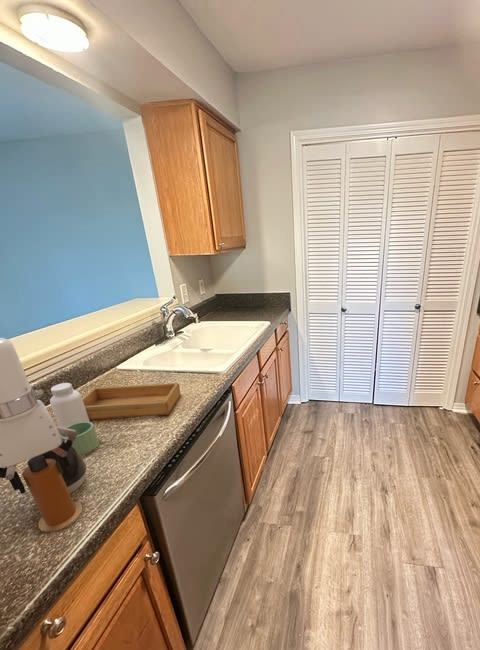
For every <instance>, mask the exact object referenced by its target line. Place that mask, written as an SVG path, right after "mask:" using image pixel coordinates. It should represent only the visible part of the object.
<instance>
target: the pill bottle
mask: <svg viewBox="0 0 480 650" xmlns="http://www.w3.org/2000/svg"><path fill="white" fill-rule="evenodd" d="M50 392H51V394H52V396H51V397H50V399H49V403H50V406H51V409H52V411H53V414H54V416H55V419H56V423H57V424H58V426H59V427H64V428H66V427H67V426H69V425H72V424H75V423H79V422H87V421H88V422H91V420H89V418H88V415H87V412H86V409H85V406H84V403H83V400H82V398H83V397H82V394H81V393H80V392H79V391H78V390H75V389H74V388H73V385H72V383H70V382H62V383H58V384H56V385H53V386H51V388H50Z"/></svg>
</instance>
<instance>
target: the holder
mask: <svg viewBox="0 0 480 650" xmlns="http://www.w3.org/2000/svg"><path fill="white" fill-rule="evenodd" d="M95 427H96V426H95V425H94V423H93V422H92V421H90V422H88V421H87V422H79V423H75V424H72V425H69V426H67V427H66V428H69V429H73V430H76V431H77V433H78V434H77V436H76V438H75V440H74V441H73V444H72V446H73V447H74V448H75V449H76V450H77V452H78V453H79V454H80V456H84V455H86V454H89V453H91V452H92V451H93V450H94V451H95V449H97V448H98V446H99V445H100V439H99V435H98V433H97V429H96V428H95ZM60 436H61V437H62V438H63V439H66V437H67V436H65V435H60Z"/></svg>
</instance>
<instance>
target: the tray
mask: <svg viewBox="0 0 480 650" xmlns="http://www.w3.org/2000/svg"><path fill="white" fill-rule="evenodd" d="M180 396H181V387H180V383H179V382H173V383H170V382H169V383H156V384H155V383H153V384H139V385H119V386H105V387H104V386H103V387H93V388H92V389H91V390H89V392H88V393H86V394H85V395H84V396H83V397H82V400H83V403H84V406H85V409H86V412H87V415H88V418H89V421H94V420H109V419H124V418H139V417H154V416H157V417H158V416H169V415H170V414H171V412H172V410H173V409H174V408H175V407H174V406H176V403H177V402H178V400H179V398H180Z"/></svg>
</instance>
